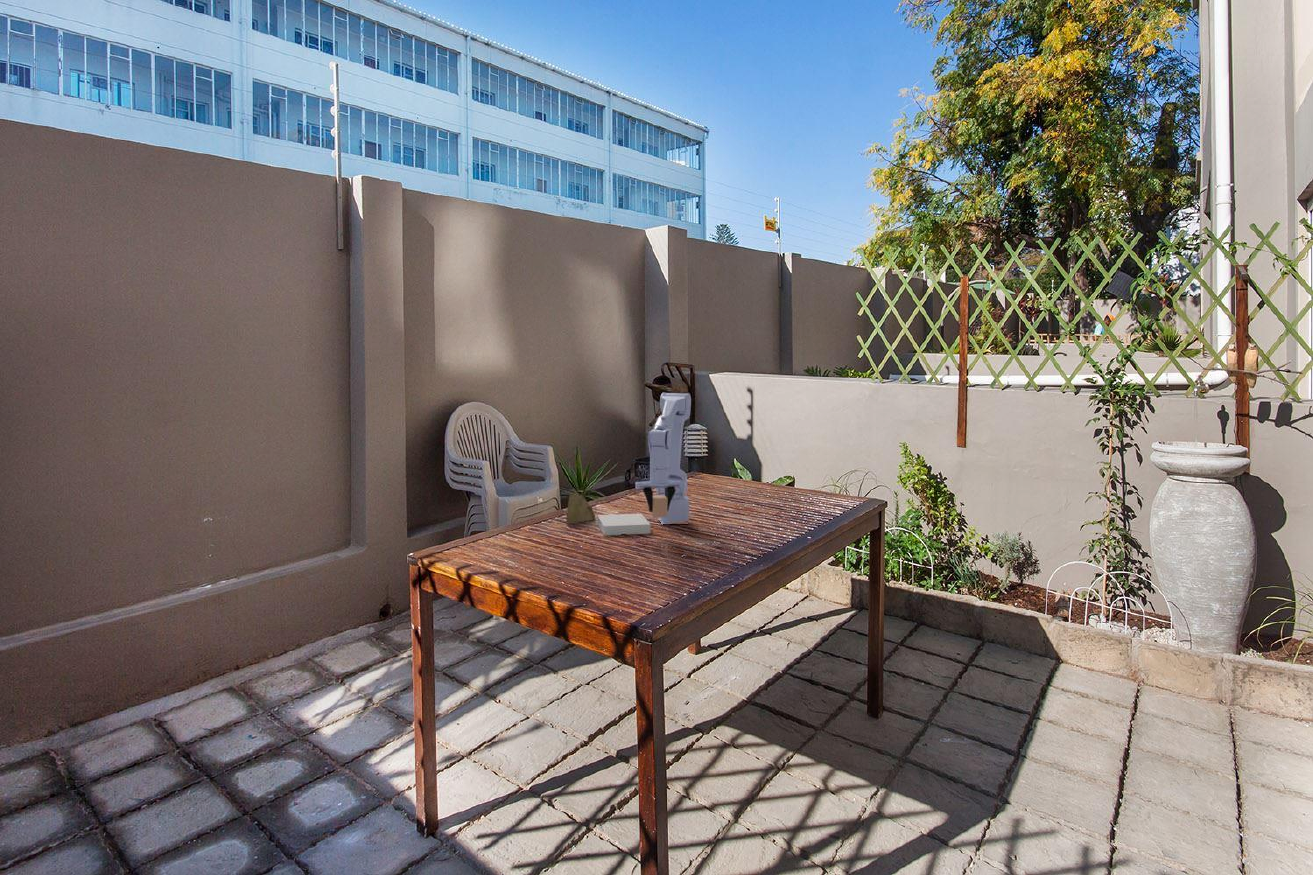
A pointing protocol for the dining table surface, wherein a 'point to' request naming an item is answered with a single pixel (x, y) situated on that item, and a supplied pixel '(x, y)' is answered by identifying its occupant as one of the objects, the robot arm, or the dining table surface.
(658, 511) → the terracotta block
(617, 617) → the dining table surface
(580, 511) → the rock
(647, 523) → the base plinth
